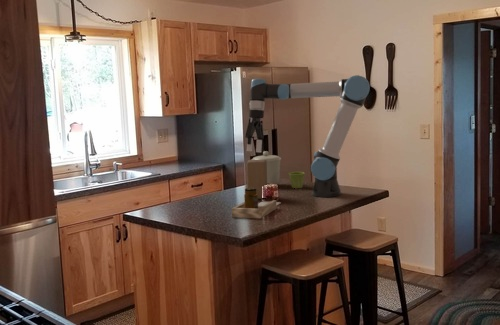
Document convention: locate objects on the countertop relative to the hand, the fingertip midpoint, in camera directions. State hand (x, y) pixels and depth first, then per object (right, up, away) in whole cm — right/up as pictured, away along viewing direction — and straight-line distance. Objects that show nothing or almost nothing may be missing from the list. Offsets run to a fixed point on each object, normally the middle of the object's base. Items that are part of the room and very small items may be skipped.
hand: (254, 151), depth 263 cm
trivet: (+7, -27, -6) cm, 28 cm away
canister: (+9, -20, +50) cm, 54 cm away
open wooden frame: (+1, -29, -20) cm, 35 cm away
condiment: (-1, -29, -24) cm, 38 cm away
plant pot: (+25, -20, +38) cm, 50 cm away
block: (+2, -24, +15) cm, 28 cm away
